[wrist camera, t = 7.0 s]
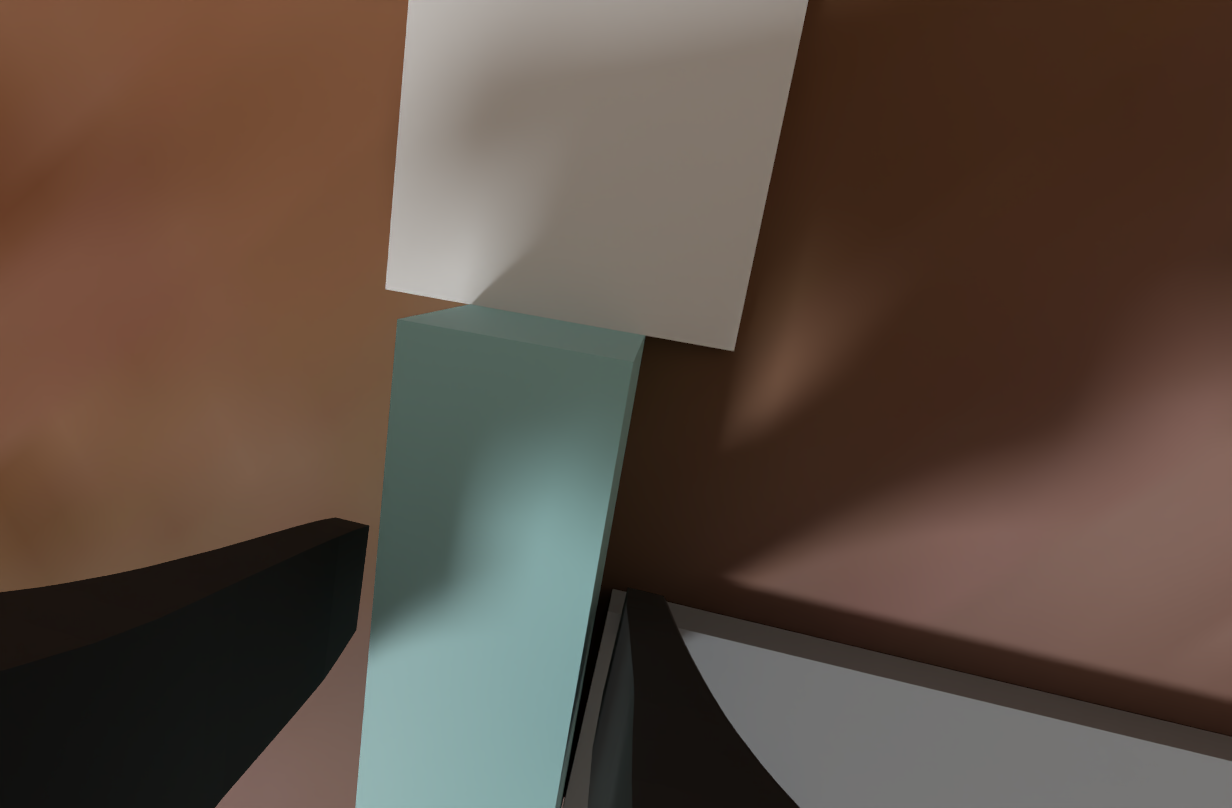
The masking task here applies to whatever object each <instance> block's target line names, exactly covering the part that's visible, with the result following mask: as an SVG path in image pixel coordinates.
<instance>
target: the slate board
mask: <svg viewBox="0 0 1232 808" xmlns="http://www.w3.org/2000/svg"><path fill="white" fill-rule="evenodd" d="M625 597H626V592H624V591H620V590H616V589H613V590H612V594H611V599H610V603H609V607H608V612H607V616H606V620H605V625H604V629H603V634H602V638H601V642H600V647H599V651H598V655H597V660H596V664H595V668H594V673H593V677H592V681H591V686H590V690H589V694H588V699H587V703H586V707H585V712H584V716H583V721H582V725H581V729H580V734H579V738H578V742H577V747H576V751H575V755H574V760H573V764H572V768H571V773H570V777H569V781H568V786H567V790H566V794H565V799H564V803H563V807H562V808H588V796H589V784H590V771H591V760H592V748H593V743H594V737H595V732H596V727H597V721H598V716H599V711H600V705H601V700H602V695H603V690H604V686H605V681H606V677H607V673H608V669H609V664H610V660H611V656H612V652H613V648H614V643H615V639H616V635H617V631H618V626H619V622H620V618H621V614H622V609H623V605H624V601H625ZM667 603H668V605H669V608H670V610H671V613H672V615H673V618H674V620H675V622H676V625H677V627H678V629H679V631H680V634H681V636H682V638H683V640H684V642H685V644H686V646H687V648H688V650H689V652H690V655H691V656H692V658H693V660H694V662H695V664H696V666H697V668H698V670H699V671H700V673H701V675H702V677H703V679H704V681H705V682H706V684H707V686H708V688H709V689H710V691H711V693H712V695H713V696H714V698H715V699H716V701H717V703H718V704H719V706H720V707H721V709H722V711H723V712H724V714H725V715H726V717H727V719H728V720H729V721H730V723H731V724H732V726H733V727H734V728H735V730H736V731H737V733H738V734H739V735H740V737H741V738H742V739H743V741H744V742H745V743H746V744H747V746H748V747H749V748H750V750H751V751H752V752H753V754H754V755H755V756H756V757H757V759H758V760H759V761H760V763H761V764H762V765H763V766H764V768H765V769H766V770H767V771H768V772H769V773H770V775H771V776H772V777H773V778H774V779H775V781H776V782H777V783H778V784H779V785H780V786H781V787H782V788H783V790H784V791H785V792H786V793H787V794H788V795H789V796H790V797H791V798H792V799H793V800H794V802H795V803H796V804H797V805H798V806H799V807H800V808H1232V737H1230V736H1226V735H1222V734H1217V733H1213V732H1209V731H1205V730H1201V729H1197V728H1192V727H1188V726H1184V725H1180V724H1176V723H1172V722H1167V721H1163V720H1159V719H1155V718H1151V717H1146V716H1142V715H1138V714H1134V713H1130V712H1126V711H1121V710H1117V709H1113V708H1109V707H1105V706H1100V705H1096V704H1092V703H1088V702H1084V701H1080V700H1075V699H1071V698H1067V697H1063V696H1059V695H1055V694H1050V693H1046V692H1042V691H1038V690H1034V689H1029V688H1025V687H1021V686H1017V685H1013V684H1009V683H1004V682H1000V681H996V680H992V679H988V678H984V677H979V676H975V675H971V674H967V673H963V672H958V671H954V670H950V669H946V668H942V667H938V666H933V665H929V664H925V663H921V662H917V661H912V660H908V659H904V658H900V657H896V656H892V655H887V654H883V653H879V652H875V651H871V650H867V649H862V648H858V647H854V646H850V645H846V644H841V643H837V642H833V641H829V640H825V639H821V638H816V637H812V636H808V635H804V634H800V633H795V632H791V631H787V630H783V629H779V628H775V627H770V626H766V625H762V624H758V623H754V622H750V621H745V620H741V619H737V618H733V617H729V616H724V615H720V614H716V613H712V612H708V611H704V610H699V609H695V608H691V607H687V606H683V605H678V604H674V603H670V602H667Z"/></svg>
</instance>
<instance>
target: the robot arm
mask: <svg viewBox="0 0 1232 808" xmlns="http://www.w3.org/2000/svg"><path fill="white" fill-rule="evenodd" d="M368 532H369V525H364V524H360V523H356V522H352V521H348V520H343V519H339V518H330V519H324V520H320V521H315V522H311V523H307V524H304V525H300V526H296V527H293V528H289V529H286V530H282V531H279V532H275V533H272V534H268V535H265V536H262V537H258V538H255V539H251V540H248V541H244V542H241V543H237V544H234V545H230V546H227V547H223V548H220V549H216V550H212V551H208V552H204V553H200V554H197V555H193V556H189V557H185V558H181V559H177V560H173V561H169V562H165V563H161V564H157V565H153V566H149V567H145V568H141V569H136V570H132V571H127V572H122V573H117V574H113V575H108V576H102V577H97V578H91V579H86V580H80V581H75V582H69V583H64V584H58V585H52V586H46V587H39V588H31V589H23V590H16V591H8V592H0V808H215V807H216V806H217V804H218V803H219V802H220V801H221V799H222V798H223V797H224V796H225V795H226V793H227V792H228V791H229V790H230V789H231V788H232V786H233V785H234V784H235V783H236V782H237V781H238V780H239V778H240V777H241V776H242V775H243V774H244V773H245V771H246V770H247V769H248V768H249V767H250V766H251V764H252V763H253V762H254V761H255V760H256V759H257V758H258V756H259V755H260V754H261V753H262V752H263V751H264V749H265V748H266V747H267V746H268V745H269V744H270V742H271V741H272V740H273V739H274V738H275V737H276V736H277V734H278V733H279V732H280V731H281V730H282V729H283V727H284V726H285V725H286V724H287V723H288V722H289V720H290V719H291V718H292V717H293V716H294V715H295V713H296V712H297V711H298V710H299V709H300V708H301V706H302V705H303V704H304V703H305V702H306V700H307V699H308V698H309V697H310V696H311V695H312V693H313V692H314V691H315V690H316V689H317V687H318V686H319V685H320V684H321V682H322V681H323V680H324V679H325V677H326V676H327V674H328V673H329V671H330V670H331V668H332V667H333V665H334V664H335V662H336V661H337V659H338V658H339V656H340V655H341V653H342V652H343V650H344V648H345V647H346V645H347V644H348V642H349V641H350V639H351V637H352V636H353V634H354V633H355V631H356V627H357V619H358V611H359V603H360V595H361V588H362V580H363V572H364V564H365V556H366V548H367V540H368ZM588 808H800V807H799V806H798V805H797V804H796V803H795V802H794V800H793V799H792V798H791V797H790V796H789V795H788V794H787V793H786V792H785V791H784V790H783V788H782V787H781V786H780V785H779V784H778V783H777V782H776V781H775V779H774V778H773V777H772V776H771V775H770V773H769V772H768V771H767V770H766V769H765V768H764V766H763V765H762V764H761V763H760V761H759V760H758V759H757V757H756V756H755V755H754V754H753V752H752V751H751V750H750V748H749V747H748V746H747V744H746V743H745V742H744V741H743V739H742V738H741V737H740V735H739V734H738V733H737V731H736V730H735V728H734V727H733V726H732V724H731V723H730V721H729V720H728V719H727V717H726V715H725V714H724V712H723V711H722V709H721V707H720V706H719V704H718V703H717V701H716V699H715V698H714V696H713V695H712V693H711V691H710V689H709V688H708V686H707V684H706V682H705V681H704V679H703V677H702V675H701V673H700V671H699V670H698V668H697V666H696V664H695V662H694V660H693V658H692V656H691V655H690V652H689V650H688V648H687V646H686V644H685V642H684V640H683V638H682V636H681V634H680V631H679V629H678V627H677V625H676V622H675V620H674V618H673V615H672V613H671V610H670V608H669V605H668V603H667V601H666V600H665V598H664V596H662V595H657V594H653V593H649V592H645V591H641V590H636V589H632V588H627V592H626V597H625V601H624V605H623V609H622V614H621V618H620V622H619V626H618V631H617V635H616V639H615V643H614V648H613V652H612V656H611V660H610V664H609V669H608V673H607V677H606V681H605V686H604V690H603V695H602V700H601V705H600V711H599V716H598V721H597V727H596V732H595V737H594V743H593V748H592V760H591V771H590V784H589V796H588Z"/></svg>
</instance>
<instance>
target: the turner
mask: <svg viewBox="0 0 1232 808" xmlns="http://www.w3.org/2000/svg"><path fill="white" fill-rule="evenodd" d="M807 5H808V0H409V4H408V17H407V29H406V41H405V54H404V66H403V79H402V91H401V103H400V116H399V128H398V141H397V153H396V165H395V178H394V190H393V203H392V215H391V227H390V240H389V252H388V265H387V277H386V289H388V290H393V291H399V292H404V293H410V294H416V295H421V296H427V297H432V298H438V299H444V300H449V301H455V302H460V303H466V304H470V305H465V306H460V307H455V308H450V309H445V310H440V311H436V312H431V313H426V314H421V315H416V316H411V317H406V318H401V319H397V330H396V342H395V353H394V365H393V377H392V388H391V400H390V412H389V423H388V435H387V447H386V458H385V470H384V481H383V493H382V505H381V516H380V528H379V540H378V551H377V563H376V575H375V586H374V598H373V609H372V621H371V633H370V644H369V656H368V668H367V679H366V691H365V703H364V714H363V726H362V738H361V749H360V761H359V772H358V784H357V796H356V807H355V808H561V806H562V801H563V796H564V791H565V785H566V779H567V774H568V768H569V763H570V757H571V751H572V746H573V740H574V735H575V729H576V723H577V718H578V712H579V707H580V701H581V695H582V690H583V684H584V678H585V673H586V667H587V662H588V656H589V650H590V645H591V639H592V634H593V628H594V622H595V617H596V611H597V606H598V600H599V594H600V589H601V583H602V578H603V572H604V566H605V561H606V555H607V550H608V544H609V538H610V533H611V527H612V521H613V516H614V510H615V505H616V499H617V493H618V488H619V482H620V477H621V471H622V465H623V460H624V454H625V449H626V443H627V437H628V432H629V426H630V421H631V415H632V409H633V404H634V398H635V392H636V387H637V381H638V376H639V370H640V364H641V359H642V353H643V348H644V342H645V336H651V337H657V338H662V339H668V340H673V341H679V342H685V343H690V344H696V345H702V346H707V347H713V348H718V349H724V350H730V351H734V349H735V344H736V339H737V334H738V330H739V325H740V320H741V316H742V311H743V306H744V301H745V297H746V292H747V287H748V283H749V278H750V273H751V268H752V264H753V259H754V254H755V250H756V245H757V240H758V235H759V231H760V226H761V221H762V217H763V212H764V207H765V203H766V198H767V193H768V188H769V184H770V179H771V174H772V170H773V165H774V160H775V155H776V151H777V146H778V141H779V137H780V132H781V127H782V122H783V118H784V113H785V108H786V104H787V99H788V94H789V89H790V85H791V80H792V75H793V71H794V66H795V61H796V56H797V52H798V47H799V42H800V38H801V33H802V28H803V23H804V19H805V14H806V9H807Z"/></svg>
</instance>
